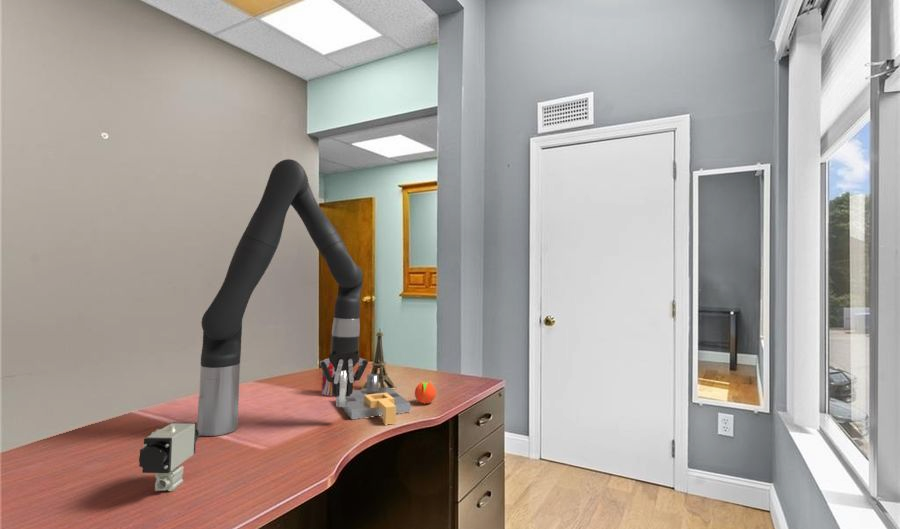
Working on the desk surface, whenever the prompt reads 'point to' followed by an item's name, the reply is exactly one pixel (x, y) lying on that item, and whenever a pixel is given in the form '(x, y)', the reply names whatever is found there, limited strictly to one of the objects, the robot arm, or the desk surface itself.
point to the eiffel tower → (380, 365)
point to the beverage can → (325, 384)
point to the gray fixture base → (361, 409)
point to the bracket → (382, 405)
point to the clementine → (425, 392)
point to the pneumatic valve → (168, 453)
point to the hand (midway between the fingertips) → (342, 395)
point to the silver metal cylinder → (342, 389)
